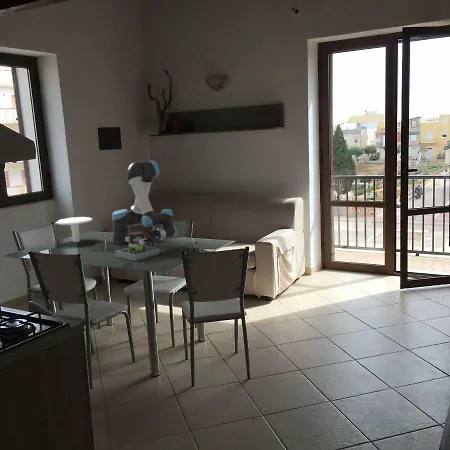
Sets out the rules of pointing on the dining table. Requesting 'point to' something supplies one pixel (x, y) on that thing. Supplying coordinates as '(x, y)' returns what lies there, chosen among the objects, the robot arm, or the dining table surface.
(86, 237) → the dining table surface
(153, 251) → the tray
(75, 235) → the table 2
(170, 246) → the dining table surface
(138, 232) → the coffee can
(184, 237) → the dining table surface
